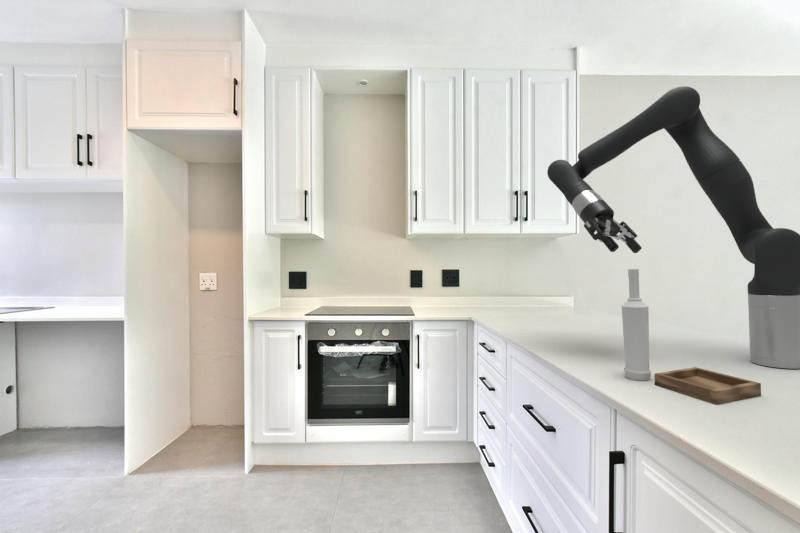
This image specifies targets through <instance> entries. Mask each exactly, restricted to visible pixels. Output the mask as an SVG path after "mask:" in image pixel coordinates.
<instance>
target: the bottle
mask: <svg viewBox="0 0 800 533" xmlns="http://www.w3.org/2000/svg"><path fill="white" fill-rule="evenodd" d="M627 273H628V274H627V276H628V293H629V294H628V296H629V297H628V298H627V301H626V302H624V303H623V304H622V305H621V316H622V317H621V318H622V319H621V320H622V334H623V348H624V364H625V365H624V366H625V367H623V368H624V369H623V372H624V376H625V378H627V379H629V380H632V381H639V382H640V381H641V382H644V381H645V382H646V381H650V380H651V376H652V371H651V370H650V335H649V334H650V330H649V329H650V324H649V323H650V322H649V320H650V319H649V318H650V316H649V313H650V312H649V306H648V304H646V303H645V302H643V301H642V298H640V279H639V278H640V270H639V268H632V269H631V268H630V269H627Z"/></svg>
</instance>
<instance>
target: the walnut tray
mask: <svg viewBox="0 0 800 533" xmlns="http://www.w3.org/2000/svg"><path fill="white" fill-rule="evenodd" d="M654 385H655V386H658V387H661V388H664V389H666V390H669V391H673V392H677V393H679V394H682V395H685V396H689V397H692V398H694V399H699V400H701V401H705V402H707V403H710V404H714V405H720V404H725V403H731V402H736V401H741V400H745V399H751V398H756V397H760V396H762V386H761V385H762V384H761V383H760V382H758V381H757V382H756V381H753V380H750V379H749V380H748V379H745V378H741V377H736V376H732V375H729V374H725V373H721V372H717V371H713V370H709V369H704V368H700V367H697V366H694V367H688V368H681V369H676V370H675V369H674V370H669V371H662V372H656V373H654Z"/></svg>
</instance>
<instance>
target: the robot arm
mask: <svg viewBox="0 0 800 533" xmlns="http://www.w3.org/2000/svg"><path fill="white" fill-rule="evenodd" d="M700 106H701V95H700V92H698V91H697V90H696V89H695V88H693V87H691V86H685V85H684V86H677V87H673V88H672V89H670V90H668V91H667V92H666V93H664V94H663V95H662V96H661V97H659V98H658V99H657V100H656V101H654V102H653V103H652V104H651V105H649V106H648V107H647V108H645V109H644V110H643V111H642V112H641V113H639V114H638V115H636V116H635V117H633V118H632V119H630V120H629V121H628V122H626V123H624V124H623V125H622V126H620V127H618V128H616V129H614V130H613V131H611V132H610V133H608V134H607V135H604V136H603V137H601V138H599V139H597V140H596V141H595V142H594V143H593V142H592V143H591V144H590V145H588V146H586V147H584V149H581V150H580V151H579V152H578V153H577V159H578V160H577V162H575V163H574V164H573V165H572V164H570V162H569V161H567V160H565V159H556V160H554V161H552V162H550V165H548V167H547V170H546V171H547V177H548V179H549V180H550V181H551V182H552V183H553V185H554V186H555V187H556V188H558V190H559V191H560V192H561V193H562V194H563V196H564V197H565V199H566V200H567V202H568V203H569V204H570V206H572V209H573V210H574V212H575V213H576V214H577V215H578V217H579V219H581V221H582V222H583V223H584V224H583V227H584V229H585V230H586V231H587V233H588V234H589V235H590V237H591V238H592V240H594V241H599V242H601V243H603V245H605V247H606V248H607V249H608V250H609V251H610V253H615V252H616V251H617V250H618V249H619V245H618V243H617V242H616V241H621V242H623V243H624V244H625V245H626V246H627V247H628V249H630V251H631V252H632V253H634V254H637V253H639V252H640V251H641V250H642V246H641V245H640V244H639V243H638V242H637V240H636V238H638V234H636V232H635V231H634V230H633V229H632V228H631V227H630V226H629V225H628V224H627V223H626V222H625V221H620V223H619V222H618V221H617V220H615V219H614V216H615V212H614V210H613V208H612V207H611V206H609V204H608V203H607V202H606V201H605V200H604V198H602V197H601V195H600V194H598V193H597V192H596V191H595V190H594V189H593V188H592V187H591V186H590V184H589V183H588V182H586V181H585V179H586V178H587V177H588V176H589V175H590V174H591V173H592V172H594V171H595V170H597V169H599V168H601V167H602V166H603V165H605V164H607V163H610V162H611V161H612V160H614V159H616V158H617V157H619V156H620V155H621V154H624V153H625V152H626V151H627V150H629V149H630V148H631V147H633V146H634V145H636V144H637V143H639V142H641V141H643V139H645V138H647V137H649V136H651V135H653V134H655V133H656V132H659V131H661V130H663V129H664V131H666V132H667V134H668V135H670V137H671V138H672V139H673V140H674V142H675V143H676V144H677V146H678V147H679V149H680V151H681V152H682V154H683V157H684V158H685V161H686V163H687V165H688V168H689V169H690V170H691V173H692V174H693V176H694V178H695V180H696V181H697V183H698V184H699V186H700V188H701V189H702V190H703V193H705V195H706V196H707V198H708V199H709V200H710V202H711V203H712V205H713V206H714V208H715V209H716V211H717V212H718V214H719V215H720V217H721V218H722V219H723V221H724V222H725V225H727V227H728V230H730V233H731V235H732V237H733V240H734V242H735V243H736V246H737V249H738V250H739V252H740V253H741V255H742V257H743V258H744V259H745V260H746V261H747V262H749V263H751V264H752V265H754V270H753V271H754V273H753V277H752V279H751V280H750V281H749V282H748V284H747V305H748V328H749V331H748V335H749V360H750V362H751V363H753V364H757V365H760V366H765V367H771V368H779V369H791V370H793V369H795V370H797V369H800V233H798V232H797V231H795V230H793V229H789V228H785V227H784V228H783V227H777V228H773V226H772V225H771V224H770V223H769V222H768V220H767V218H766V217H765V216H764V215H763V213H762V211H761V210H760V207H759V206H758V202H757V197H756V191H755V186H754V181H753V179H752V176H751V174H750V172H749V171H748V169H747V168H746V166H745V165H744V164H743V162H742V161H741V159H740V158H739V157H738V155H737V154H736V153H735V152H734V150H733V149H731V148H730V146H728V145H727V144H726V143H725V142H724V141H723V140H722V139H721V138H719V137H718V136H717V135H716V133H714V131H712V129H711V127H710V126H709V125H708V123H707V121H706V119H705V117H704V115H703V113H702V111H701V109H700ZM595 232H596V233H595ZM614 239H615V240H616V241H615V240H614Z"/></svg>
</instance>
